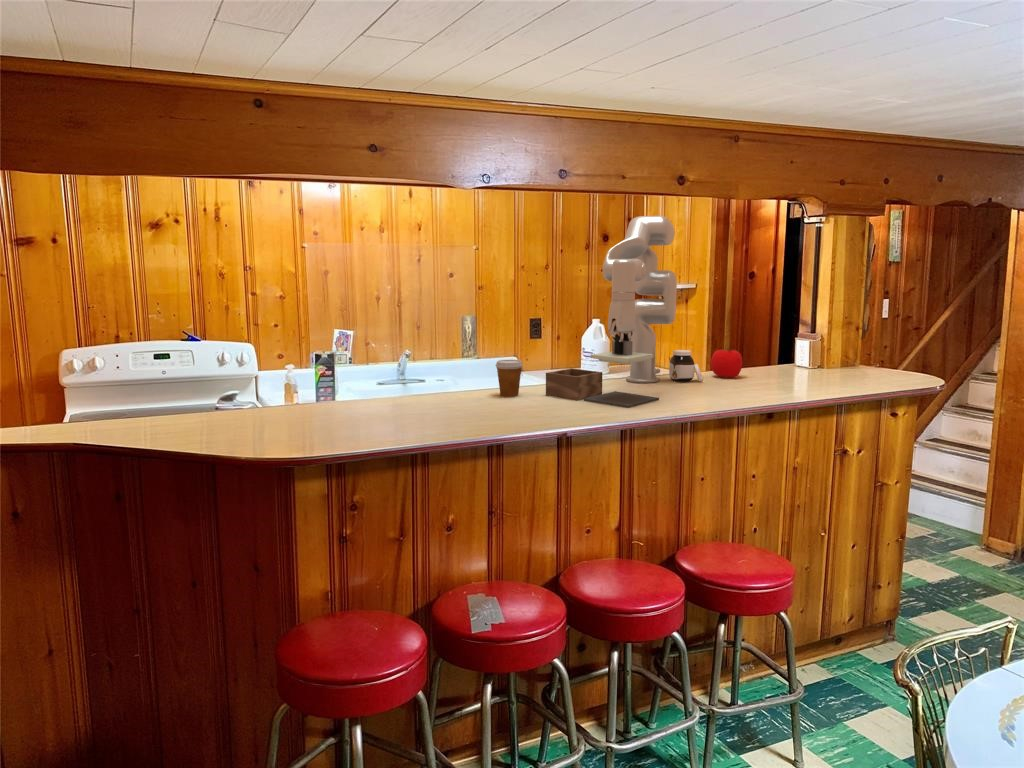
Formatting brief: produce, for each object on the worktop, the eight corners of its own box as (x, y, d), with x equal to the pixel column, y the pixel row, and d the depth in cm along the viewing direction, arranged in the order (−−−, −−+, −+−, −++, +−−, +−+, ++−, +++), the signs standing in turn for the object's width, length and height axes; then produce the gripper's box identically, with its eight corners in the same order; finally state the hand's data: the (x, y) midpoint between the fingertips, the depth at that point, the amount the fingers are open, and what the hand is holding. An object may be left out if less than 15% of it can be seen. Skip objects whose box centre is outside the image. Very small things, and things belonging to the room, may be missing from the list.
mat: (615, 393, 260) (615, 391, 260) (659, 399, 248) (659, 397, 247) (583, 400, 247) (583, 398, 247) (628, 408, 235) (628, 405, 235)
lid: (616, 356, 255) (617, 337, 254) (653, 360, 245) (654, 340, 244) (590, 361, 245) (590, 341, 244) (627, 365, 234) (628, 344, 233)
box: (571, 390, 267) (571, 368, 266) (602, 394, 258) (602, 372, 256) (545, 395, 257) (545, 372, 256) (577, 400, 248) (577, 377, 246)
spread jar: (665, 379, 289) (666, 349, 287) (691, 377, 292) (692, 348, 290) (681, 384, 278) (682, 353, 276) (707, 382, 281) (709, 352, 279)
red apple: (726, 380, 284) (728, 351, 282) (702, 376, 296) (703, 347, 294) (749, 378, 290) (750, 349, 288) (724, 373, 302) (725, 345, 300)
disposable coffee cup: (525, 393, 262) (525, 359, 260) (519, 398, 253) (519, 363, 251) (499, 392, 264) (499, 359, 262) (492, 397, 255) (492, 362, 253)
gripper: (628, 296, 250) (626, 350, 253) (598, 298, 238) (598, 354, 241) (646, 296, 245) (645, 351, 248) (617, 298, 233) (616, 356, 236)
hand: (622, 352), depth 244 cm, fingers closed on lid, 3 cm apart
